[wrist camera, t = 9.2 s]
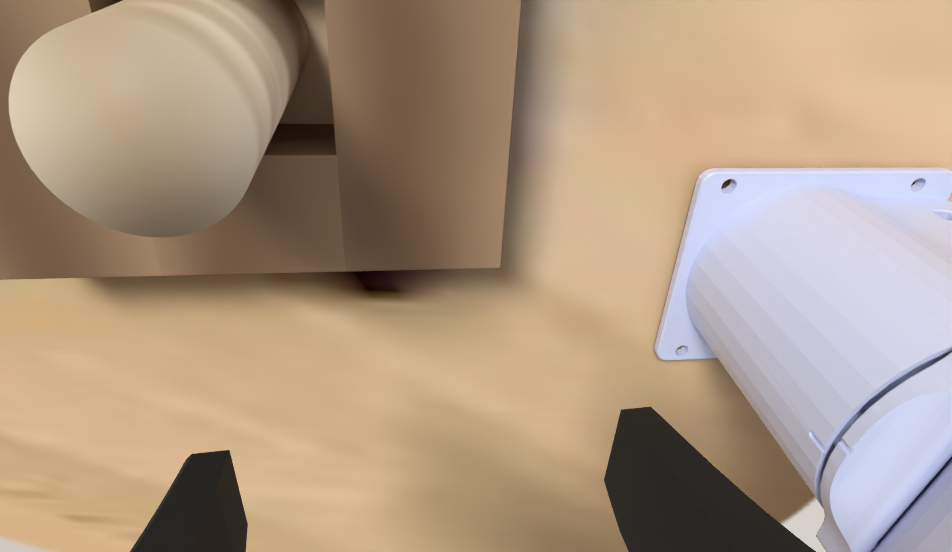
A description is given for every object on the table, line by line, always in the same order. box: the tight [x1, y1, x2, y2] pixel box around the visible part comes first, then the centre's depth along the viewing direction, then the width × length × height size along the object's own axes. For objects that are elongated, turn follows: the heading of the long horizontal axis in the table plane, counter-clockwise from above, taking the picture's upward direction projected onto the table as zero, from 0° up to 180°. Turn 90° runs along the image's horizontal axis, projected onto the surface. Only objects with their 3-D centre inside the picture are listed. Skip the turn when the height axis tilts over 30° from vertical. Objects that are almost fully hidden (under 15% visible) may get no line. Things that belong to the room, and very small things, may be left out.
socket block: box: [0, 0, 521, 280], centre depth 15 cm, size 14×12×3 cm
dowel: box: [9, 0, 309, 237], centre depth 13 cm, size 4×4×8 cm
